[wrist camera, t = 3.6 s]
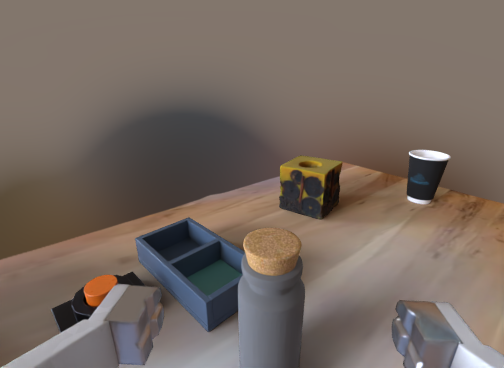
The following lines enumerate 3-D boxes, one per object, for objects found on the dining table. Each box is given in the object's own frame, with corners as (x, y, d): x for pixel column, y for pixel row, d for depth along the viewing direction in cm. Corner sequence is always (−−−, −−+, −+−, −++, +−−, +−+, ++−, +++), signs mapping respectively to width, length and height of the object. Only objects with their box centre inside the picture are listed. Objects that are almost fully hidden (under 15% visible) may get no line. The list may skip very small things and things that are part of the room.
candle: (339, 203, 64) (344, 161, 61) (322, 221, 57) (326, 174, 53) (298, 193, 70) (301, 154, 66) (278, 208, 62) (279, 165, 58)
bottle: (238, 400, 26) (234, 264, 20) (241, 343, 31) (238, 223, 26) (302, 400, 26) (316, 264, 20) (294, 343, 31) (302, 223, 26)
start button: (113, 281, 37) (111, 270, 36) (124, 296, 34) (122, 284, 34) (82, 295, 34) (79, 284, 34) (92, 312, 32) (89, 300, 31)
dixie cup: (432, 194, 69) (443, 150, 65) (443, 209, 62) (457, 160, 58) (396, 191, 71) (405, 148, 67) (404, 205, 64) (414, 157, 60)
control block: (133, 277, 41) (130, 260, 40) (160, 308, 36) (157, 289, 35) (53, 316, 35) (46, 297, 34) (71, 360, 29) (64, 339, 28)
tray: (190, 238, 51) (189, 217, 49) (265, 290, 39) (266, 264, 37) (139, 261, 45) (134, 238, 43) (208, 332, 33) (205, 303, 31)
